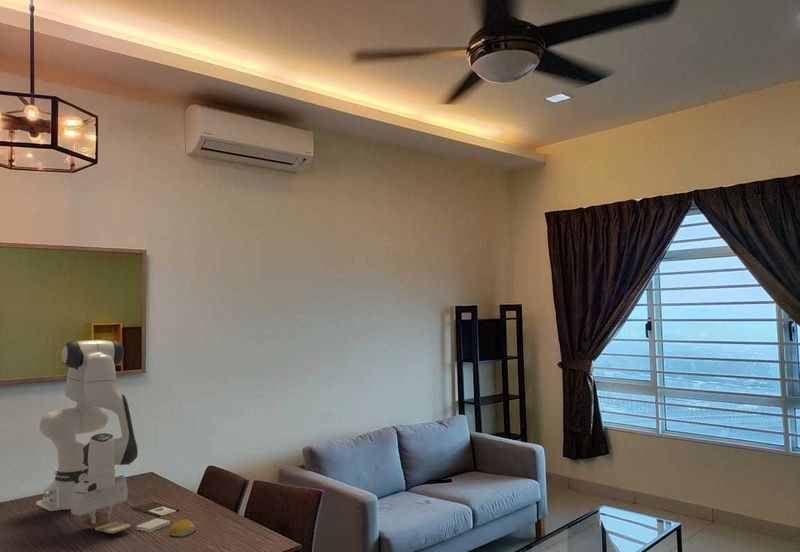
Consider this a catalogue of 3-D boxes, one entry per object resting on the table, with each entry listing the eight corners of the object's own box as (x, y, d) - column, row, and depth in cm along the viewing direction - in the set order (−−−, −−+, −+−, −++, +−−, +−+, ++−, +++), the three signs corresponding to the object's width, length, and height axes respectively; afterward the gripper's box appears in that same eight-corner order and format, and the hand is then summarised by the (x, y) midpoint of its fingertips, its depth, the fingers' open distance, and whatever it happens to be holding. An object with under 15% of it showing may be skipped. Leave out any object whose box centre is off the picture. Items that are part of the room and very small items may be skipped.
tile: (136, 526, 208) (149, 528, 205) (156, 518, 216) (170, 520, 213) (135, 531, 208) (149, 534, 204) (156, 523, 216) (170, 525, 212)
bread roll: (169, 539, 199) (169, 527, 199) (169, 530, 207) (170, 518, 208) (195, 535, 202) (195, 523, 202) (194, 527, 210) (194, 515, 210)
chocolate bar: (153, 501, 238) (179, 509, 228) (153, 504, 238) (179, 512, 228) (132, 507, 231) (158, 516, 221) (132, 510, 231) (158, 518, 221)
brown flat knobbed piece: (76, 526, 207) (76, 514, 207) (94, 520, 213) (94, 508, 213) (113, 533, 199) (113, 521, 199) (130, 526, 205) (130, 515, 205)
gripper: (120, 473, 218) (119, 511, 217) (68, 487, 200) (67, 529, 199) (132, 474, 216) (131, 513, 215) (80, 489, 197) (79, 531, 196)
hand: (100, 521), depth 207 cm, fingers closed on brown flat knobbed piece, 3 cm apart
